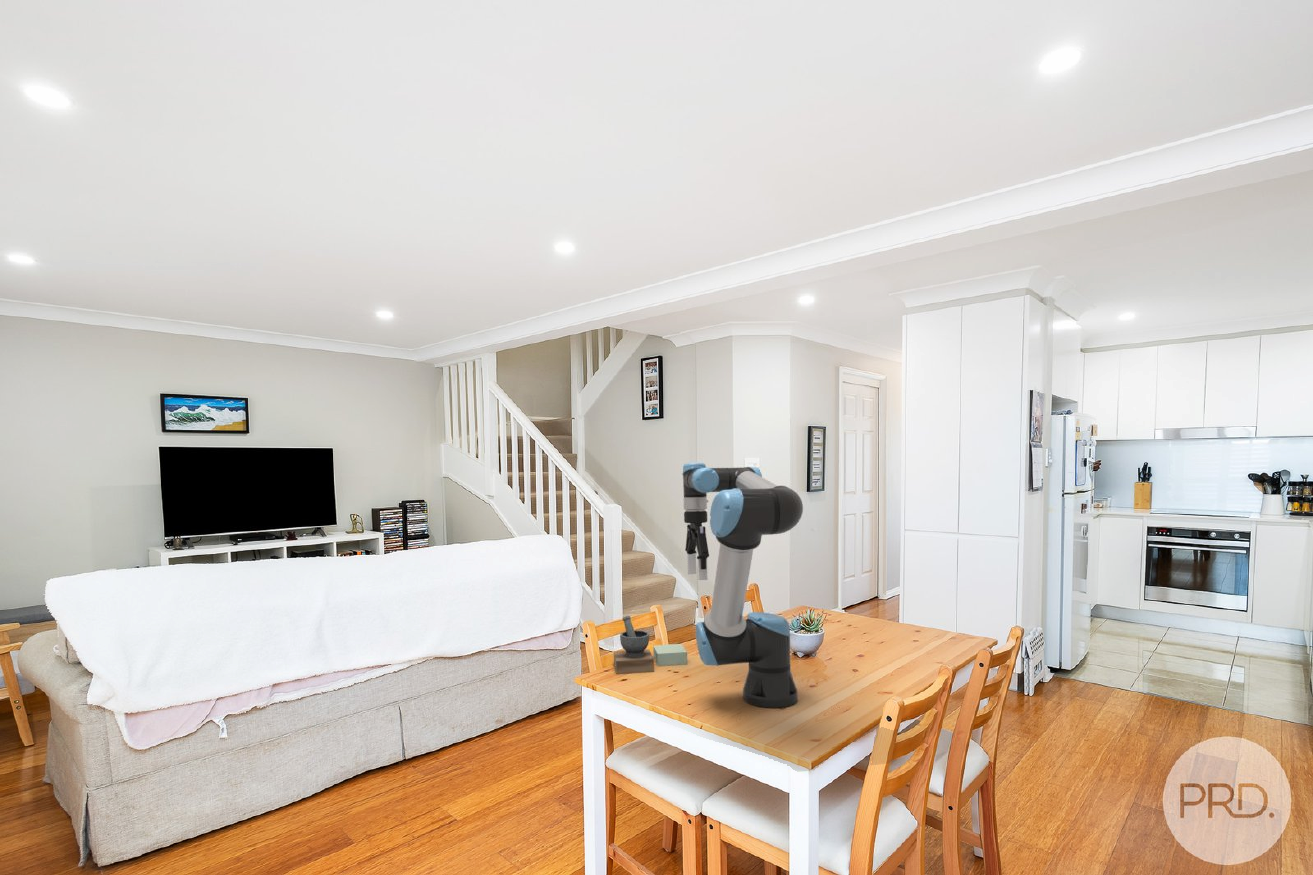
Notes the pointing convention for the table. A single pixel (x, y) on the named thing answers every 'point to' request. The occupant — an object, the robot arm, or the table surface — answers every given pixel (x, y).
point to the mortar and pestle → (633, 640)
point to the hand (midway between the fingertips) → (697, 576)
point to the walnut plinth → (633, 663)
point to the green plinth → (670, 654)
